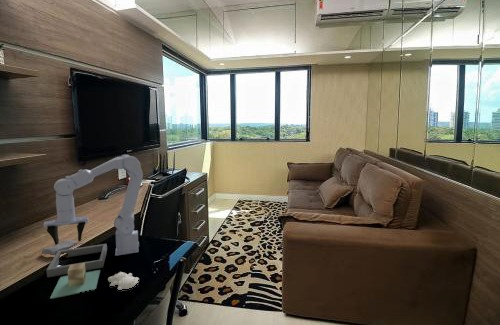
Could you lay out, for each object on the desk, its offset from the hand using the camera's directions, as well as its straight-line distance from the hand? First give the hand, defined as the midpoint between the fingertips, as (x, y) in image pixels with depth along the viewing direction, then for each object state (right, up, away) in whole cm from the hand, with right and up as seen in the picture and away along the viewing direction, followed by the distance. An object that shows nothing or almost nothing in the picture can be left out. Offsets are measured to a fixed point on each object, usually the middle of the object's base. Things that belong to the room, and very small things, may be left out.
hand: (68, 242), depth 103 cm
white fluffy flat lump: (+26, -13, -8) cm, 30 cm away
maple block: (+10, -12, -10) cm, 18 cm away
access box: (+2, -10, +5) cm, 11 cm away
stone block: (-14, -9, +14) cm, 21 cm away
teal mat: (+10, -12, -10) cm, 19 cm away
